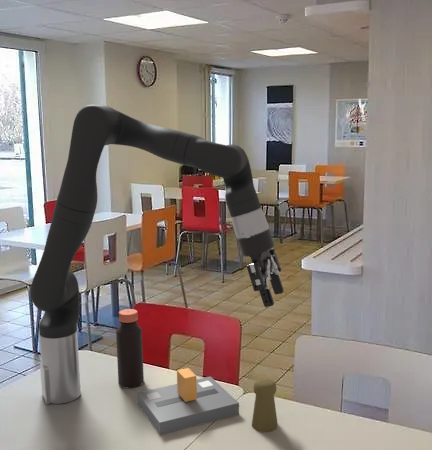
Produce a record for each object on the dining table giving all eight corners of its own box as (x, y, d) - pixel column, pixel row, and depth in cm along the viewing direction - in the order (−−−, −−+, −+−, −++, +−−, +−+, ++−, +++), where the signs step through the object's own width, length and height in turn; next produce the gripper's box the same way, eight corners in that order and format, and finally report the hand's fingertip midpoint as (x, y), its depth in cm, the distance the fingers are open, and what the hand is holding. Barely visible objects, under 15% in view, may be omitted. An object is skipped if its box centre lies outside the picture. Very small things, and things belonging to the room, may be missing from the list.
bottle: (113, 384, 152) (109, 313, 149) (130, 375, 158) (127, 306, 154) (131, 391, 149) (128, 317, 145) (149, 381, 154) (146, 310, 150)
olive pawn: (276, 433, 127) (276, 387, 126) (249, 430, 129) (249, 385, 127) (279, 419, 133) (279, 375, 131) (253, 417, 134) (253, 373, 133)
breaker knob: (185, 401, 135) (184, 378, 134) (177, 393, 140) (176, 370, 139) (196, 399, 137) (196, 375, 136) (188, 390, 141) (188, 367, 140)
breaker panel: (160, 434, 127) (159, 422, 127) (137, 403, 142) (137, 392, 141) (238, 414, 136) (238, 402, 135) (210, 387, 150) (210, 376, 150)
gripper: (247, 229, 135) (268, 293, 136) (226, 243, 122) (250, 313, 123) (276, 220, 132) (297, 286, 133) (258, 234, 119) (282, 307, 120)
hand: (274, 299), depth 128 cm, fingers open, 8 cm apart
